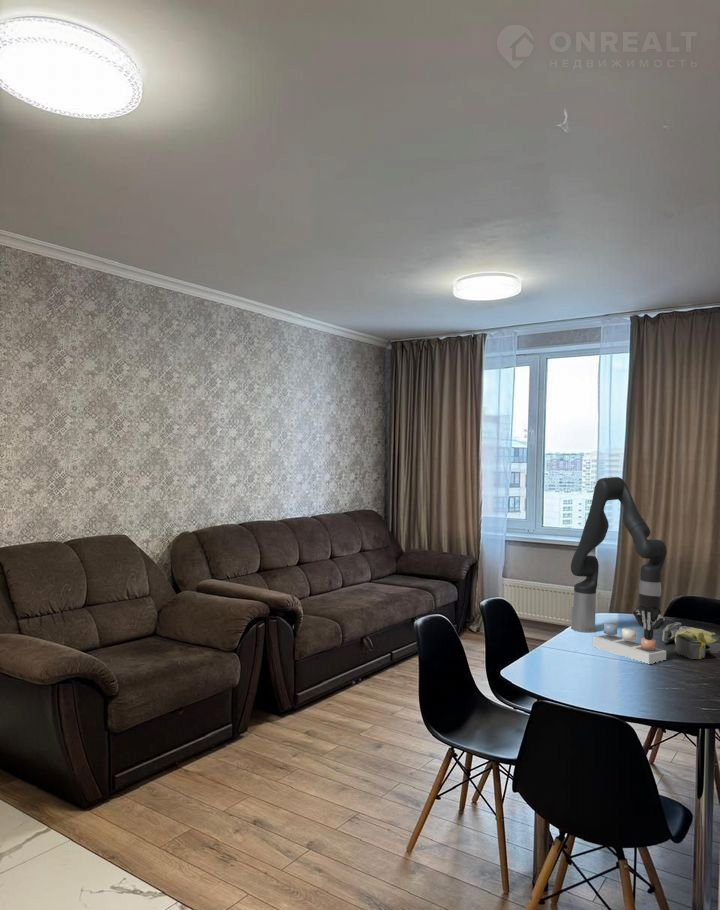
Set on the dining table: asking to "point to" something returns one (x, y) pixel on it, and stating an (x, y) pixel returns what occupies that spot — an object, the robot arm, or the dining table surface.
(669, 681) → the dining table surface
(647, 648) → the terracotta button
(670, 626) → the circular saw
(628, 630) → the cream button
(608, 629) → the slate button
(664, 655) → the console
